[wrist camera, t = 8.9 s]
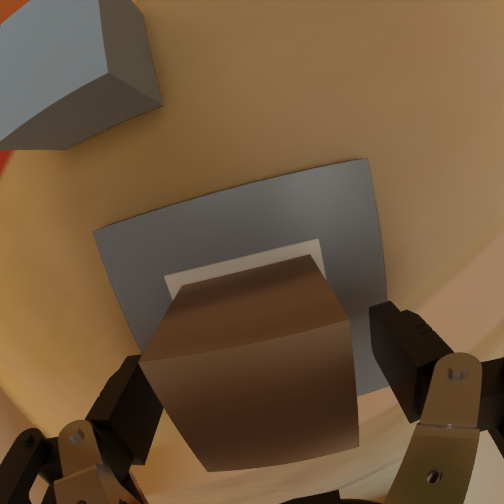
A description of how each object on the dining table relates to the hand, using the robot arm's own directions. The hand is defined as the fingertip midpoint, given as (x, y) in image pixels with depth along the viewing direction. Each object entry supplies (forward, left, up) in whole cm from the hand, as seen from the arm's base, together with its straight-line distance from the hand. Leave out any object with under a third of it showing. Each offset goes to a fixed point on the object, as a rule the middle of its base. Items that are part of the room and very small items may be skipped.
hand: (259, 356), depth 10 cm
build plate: (0, 0, -3) cm, 3 cm away
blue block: (-12, -4, -3) cm, 13 cm away
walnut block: (0, 0, -2) cm, 2 cm away
